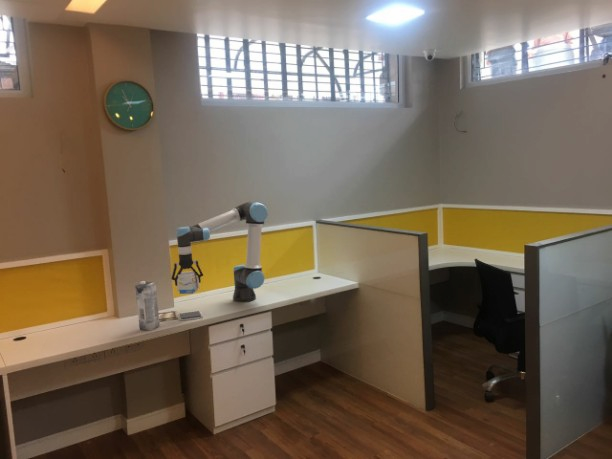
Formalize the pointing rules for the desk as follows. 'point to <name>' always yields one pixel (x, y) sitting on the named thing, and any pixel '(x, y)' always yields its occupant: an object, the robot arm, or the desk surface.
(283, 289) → the desk surface
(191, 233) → the robot arm
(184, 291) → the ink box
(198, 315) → the ink pad
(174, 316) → the print board
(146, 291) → the juice carton
